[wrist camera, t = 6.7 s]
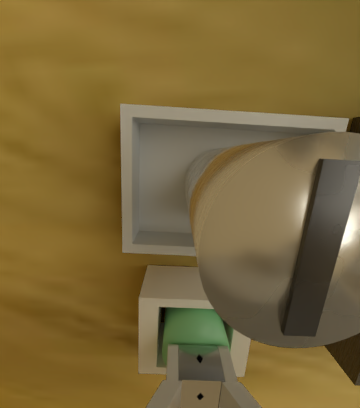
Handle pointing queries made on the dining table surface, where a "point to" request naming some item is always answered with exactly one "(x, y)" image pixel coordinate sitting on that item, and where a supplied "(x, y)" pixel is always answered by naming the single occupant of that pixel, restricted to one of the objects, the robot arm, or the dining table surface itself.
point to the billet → (280, 236)
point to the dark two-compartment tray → (355, 345)
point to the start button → (192, 328)
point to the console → (180, 298)
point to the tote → (184, 164)
